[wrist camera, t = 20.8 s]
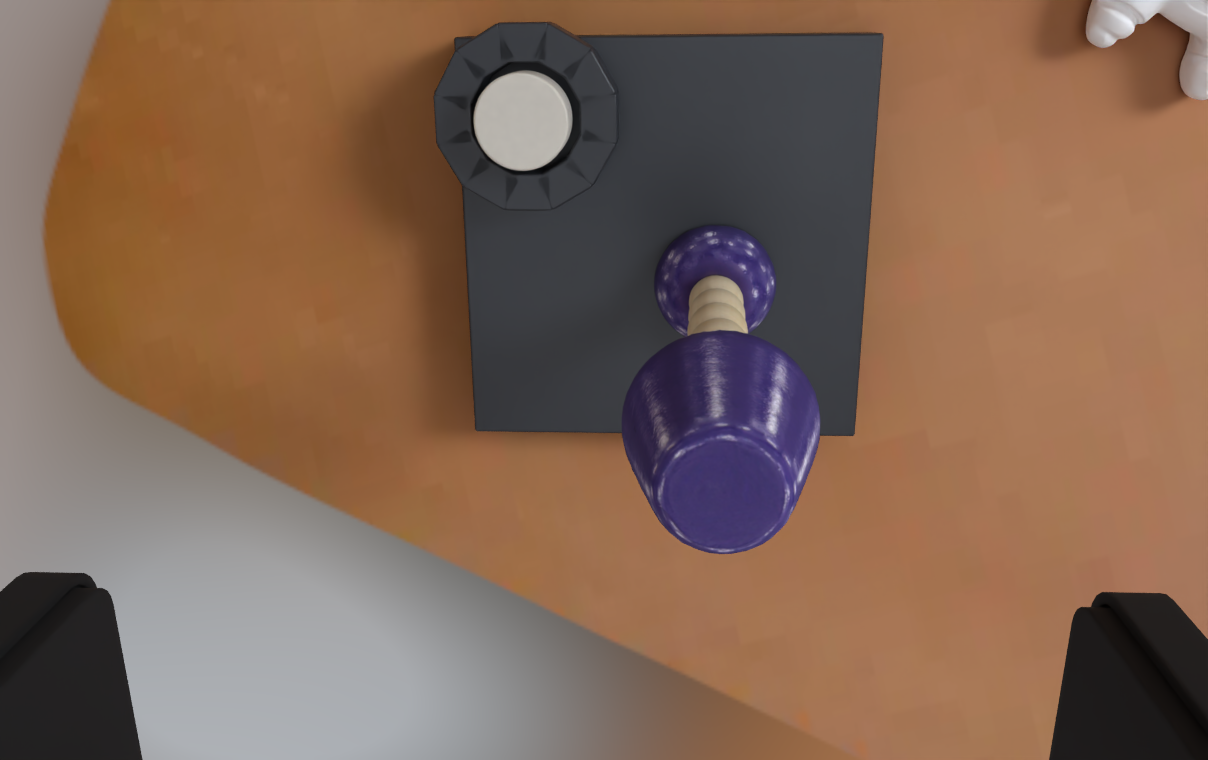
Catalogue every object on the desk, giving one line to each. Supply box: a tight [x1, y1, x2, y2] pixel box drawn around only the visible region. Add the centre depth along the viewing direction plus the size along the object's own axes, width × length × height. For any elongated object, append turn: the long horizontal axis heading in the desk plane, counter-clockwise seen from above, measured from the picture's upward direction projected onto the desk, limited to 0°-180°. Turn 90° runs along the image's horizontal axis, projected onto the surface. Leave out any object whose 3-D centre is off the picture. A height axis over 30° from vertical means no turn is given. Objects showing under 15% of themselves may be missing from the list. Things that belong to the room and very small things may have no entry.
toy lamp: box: [622, 225, 820, 554], centre depth 29 cm, size 5×5×17 cm
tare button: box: [473, 70, 573, 171], centre depth 33 cm, size 3×3×2 cm
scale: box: [434, 22, 884, 436], centre depth 37 cm, size 14×14×4 cm
